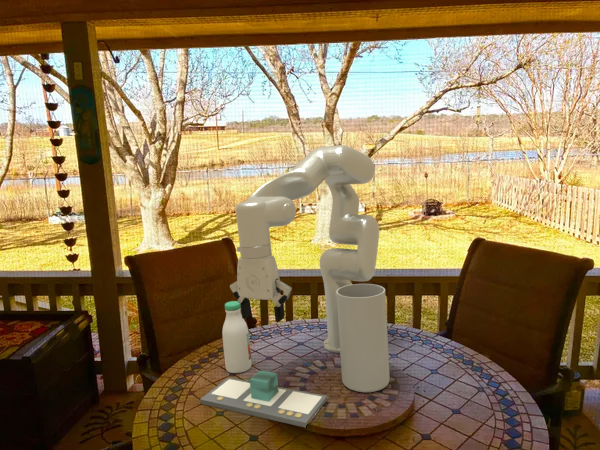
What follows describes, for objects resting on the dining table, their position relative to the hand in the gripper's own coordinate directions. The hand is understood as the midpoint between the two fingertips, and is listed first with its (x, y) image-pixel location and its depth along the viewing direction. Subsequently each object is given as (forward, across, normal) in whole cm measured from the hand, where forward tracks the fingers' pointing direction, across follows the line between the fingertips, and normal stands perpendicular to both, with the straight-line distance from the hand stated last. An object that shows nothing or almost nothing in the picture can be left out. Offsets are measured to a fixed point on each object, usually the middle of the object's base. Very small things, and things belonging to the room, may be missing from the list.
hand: (263, 318), depth 108 cm
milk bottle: (+21, -18, +11) cm, 30 cm away
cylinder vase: (+22, +20, +15) cm, 33 cm away
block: (+20, -1, -2) cm, 20 cm away
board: (+21, -1, -3) cm, 21 cm away
